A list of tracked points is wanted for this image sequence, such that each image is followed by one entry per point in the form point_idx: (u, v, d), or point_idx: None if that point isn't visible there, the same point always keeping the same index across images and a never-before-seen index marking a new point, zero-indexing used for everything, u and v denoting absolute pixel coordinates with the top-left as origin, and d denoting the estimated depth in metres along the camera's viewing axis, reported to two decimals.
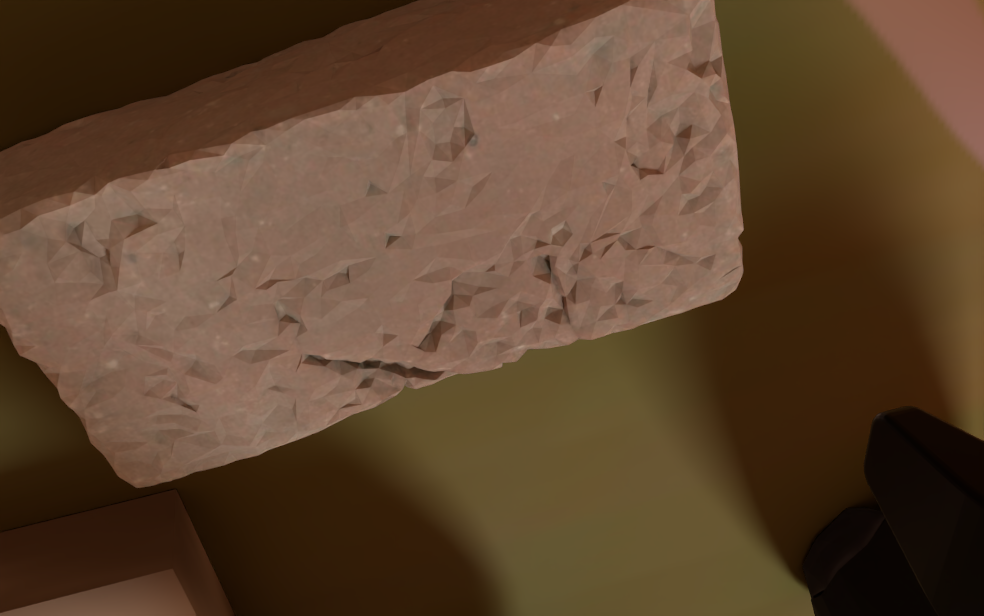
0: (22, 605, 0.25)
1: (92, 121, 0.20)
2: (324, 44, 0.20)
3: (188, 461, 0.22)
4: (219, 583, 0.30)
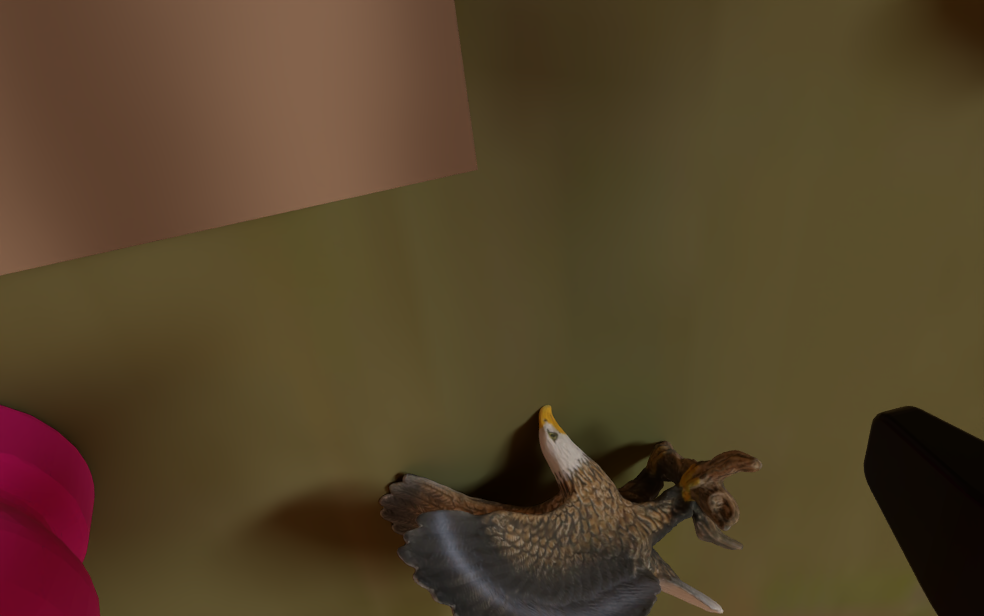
0: None
1: None
2: None
3: None
4: None
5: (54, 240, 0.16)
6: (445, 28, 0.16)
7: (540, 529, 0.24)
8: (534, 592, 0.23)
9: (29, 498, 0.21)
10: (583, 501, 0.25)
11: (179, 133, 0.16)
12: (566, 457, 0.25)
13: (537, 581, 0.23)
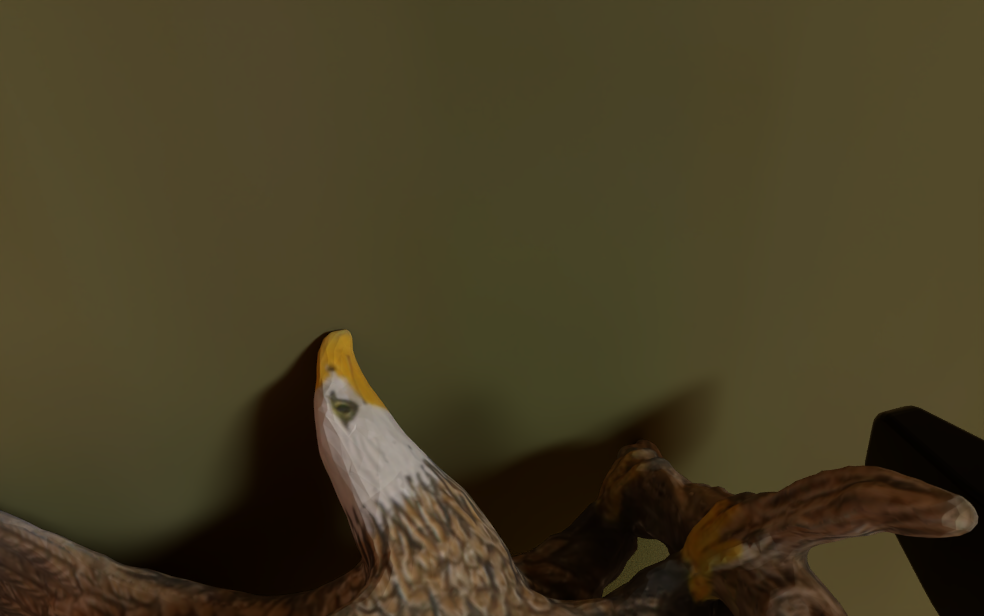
0: None
1: None
2: None
3: None
4: None
5: None
6: None
7: None
8: None
9: None
10: (409, 597, 0.09)
11: None
12: (372, 470, 0.09)
13: None
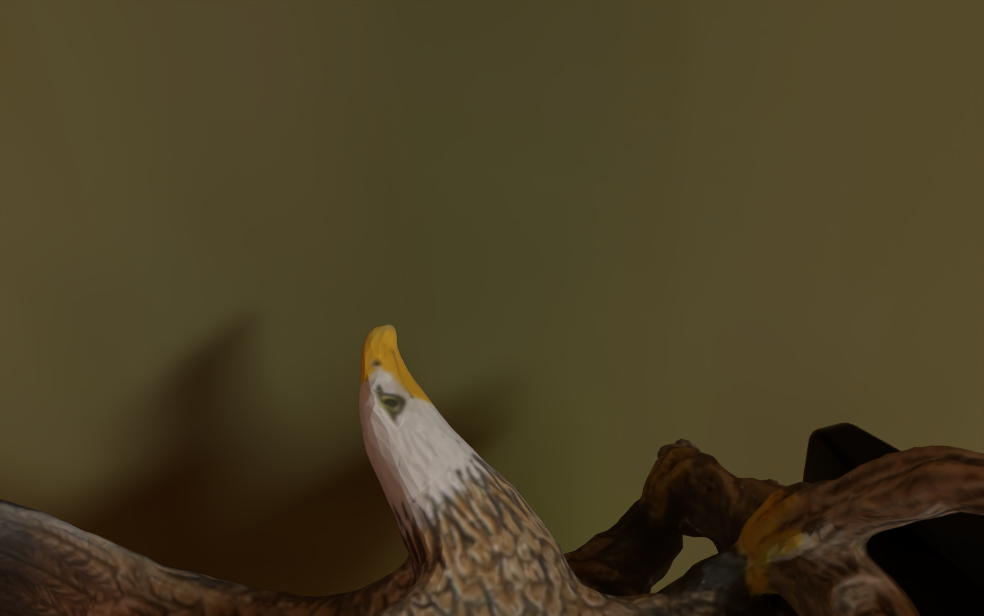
0: None
1: None
2: None
3: None
4: None
5: None
6: None
7: None
8: None
9: None
10: (463, 592, 0.09)
11: None
12: (422, 464, 0.09)
13: None
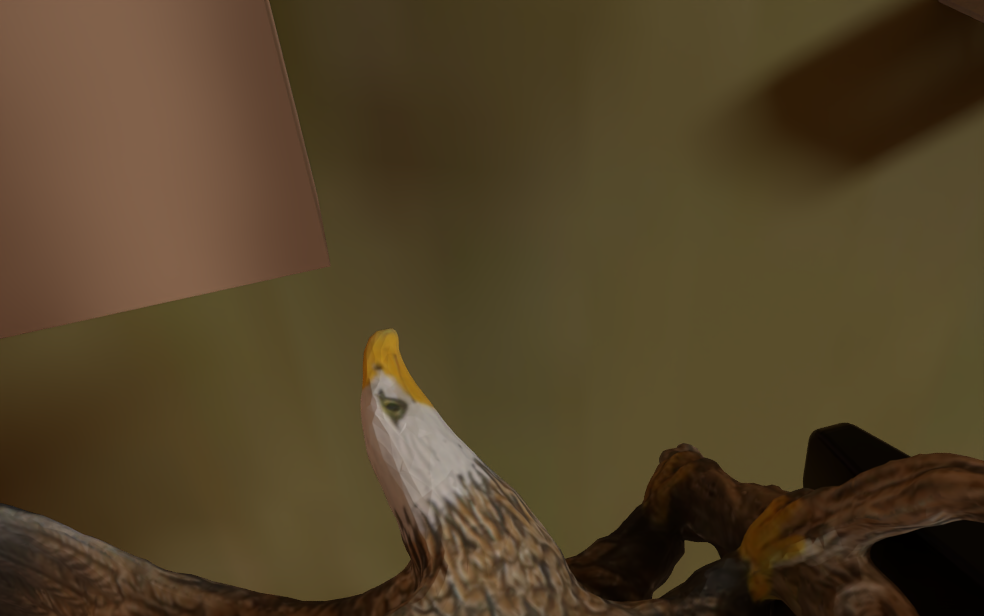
0: None
1: None
2: None
3: None
4: None
5: None
6: (285, 136, 0.16)
7: None
8: None
9: None
10: (465, 597, 0.08)
11: (23, 236, 0.16)
12: (424, 469, 0.09)
13: None
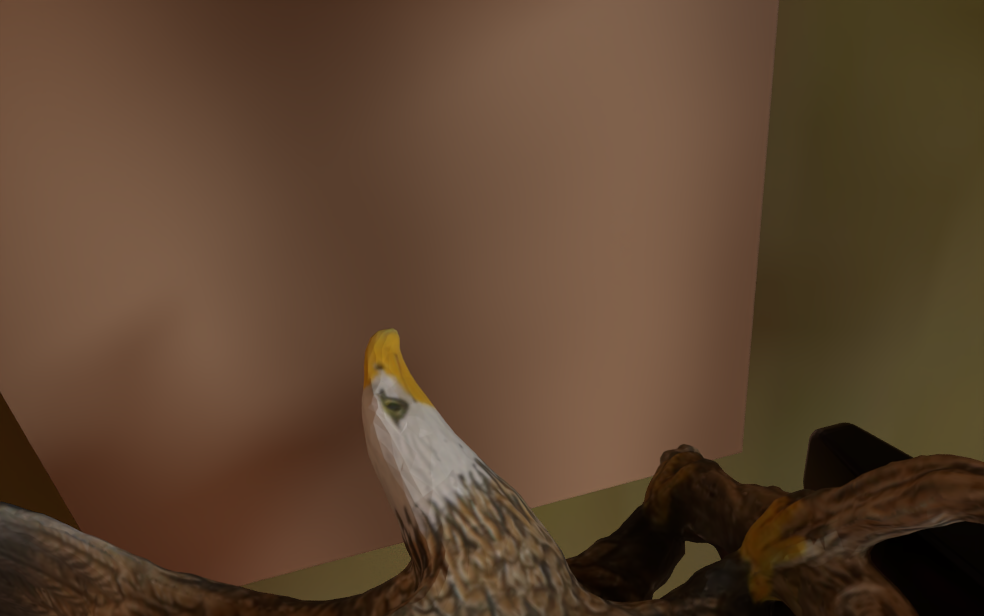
0: None
1: None
2: None
3: None
4: None
5: (356, 538, 0.17)
6: (739, 345, 0.17)
7: None
8: None
9: None
10: (465, 597, 0.08)
11: (486, 446, 0.17)
12: (425, 468, 0.09)
13: None
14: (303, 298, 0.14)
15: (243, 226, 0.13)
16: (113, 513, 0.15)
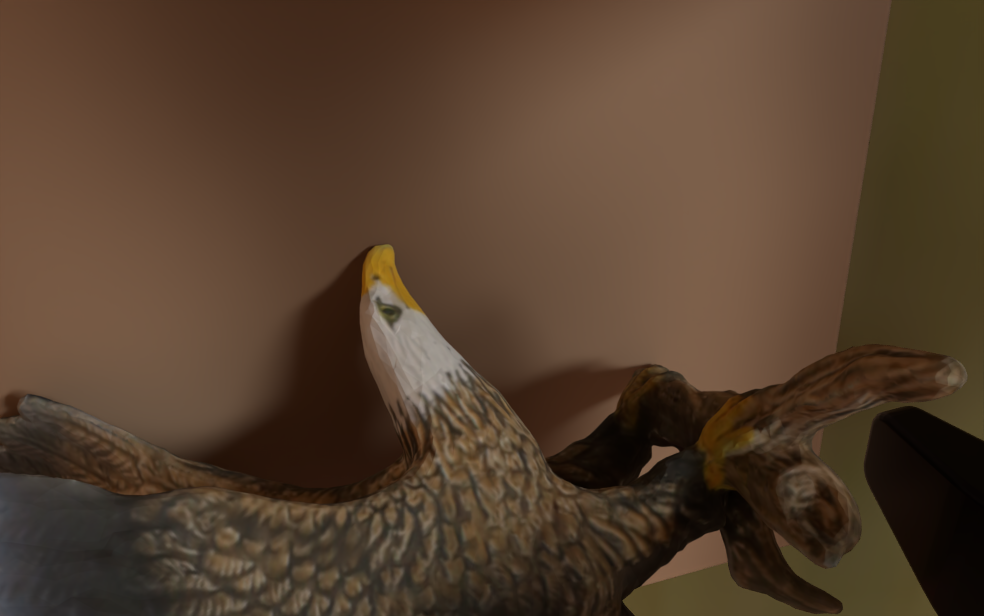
0: None
1: None
2: None
3: None
4: None
5: None
6: None
7: (323, 544, 0.09)
8: None
9: None
10: (450, 476, 0.10)
11: None
12: (416, 366, 0.10)
13: None
14: (321, 395, 0.12)
15: (250, 319, 0.11)
16: None
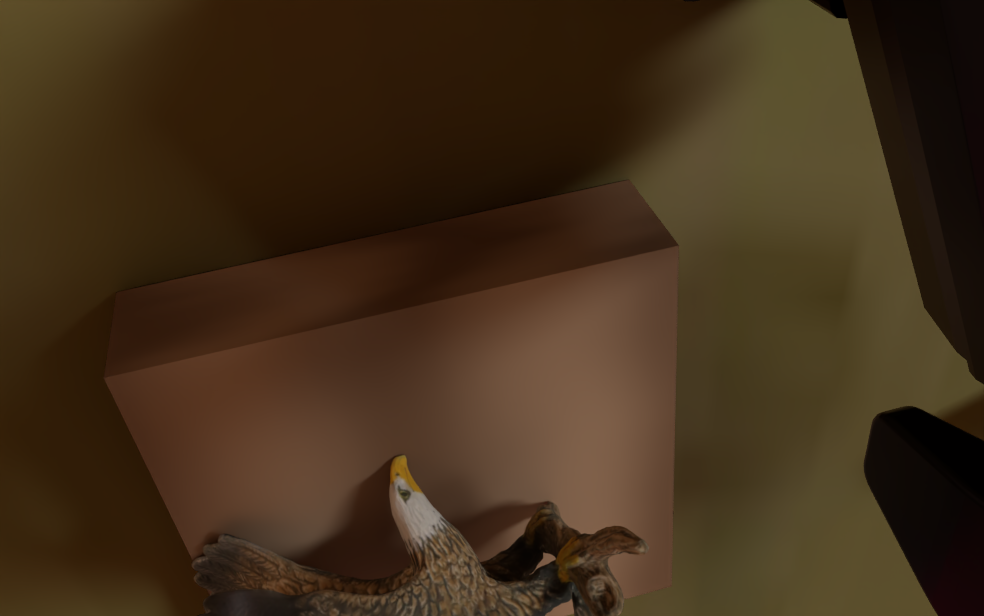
0: (168, 509, 0.21)
1: None
2: None
3: None
4: (319, 249, 0.21)
5: None
6: (665, 525, 0.25)
7: (375, 614, 0.19)
8: None
9: None
10: (434, 579, 0.20)
11: None
12: (417, 522, 0.20)
13: None
14: (386, 518, 0.22)
15: (352, 484, 0.21)
16: None
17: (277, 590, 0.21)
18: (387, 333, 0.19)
